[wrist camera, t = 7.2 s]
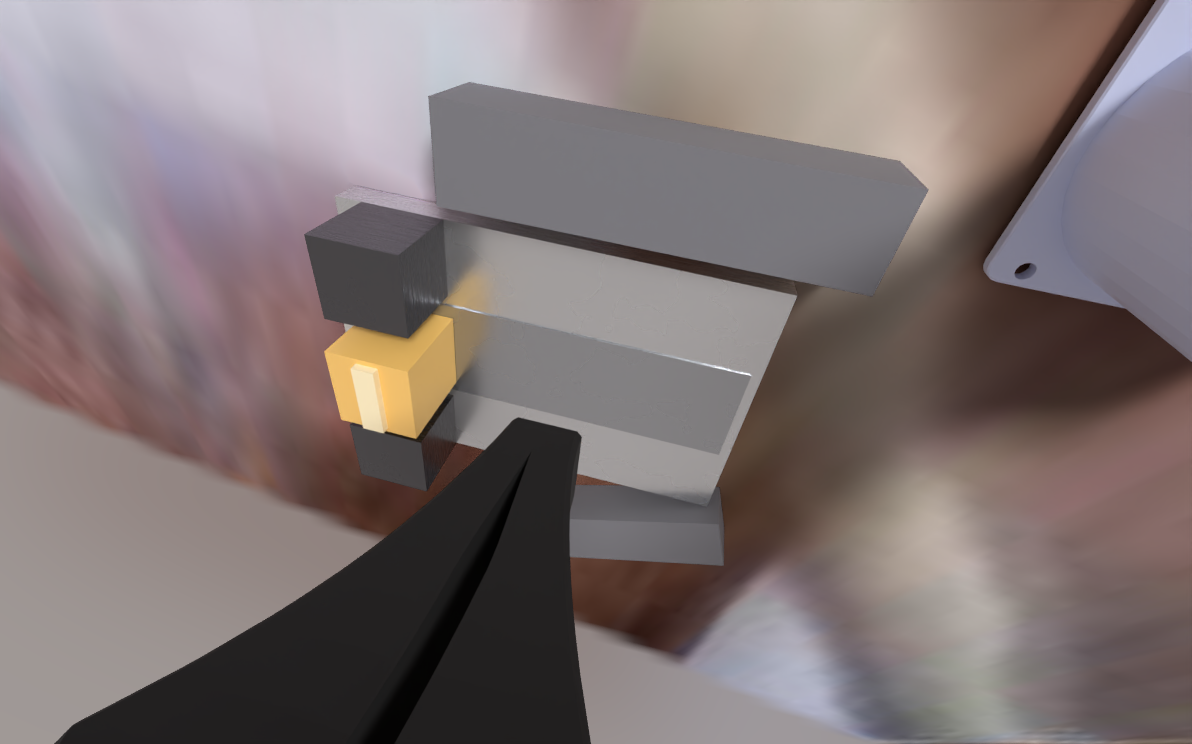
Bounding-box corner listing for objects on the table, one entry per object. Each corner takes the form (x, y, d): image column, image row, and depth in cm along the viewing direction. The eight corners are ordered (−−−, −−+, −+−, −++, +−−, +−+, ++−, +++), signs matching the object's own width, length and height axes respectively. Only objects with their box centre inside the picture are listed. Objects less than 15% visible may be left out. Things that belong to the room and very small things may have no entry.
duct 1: (896, 158, 15) (928, 190, 12) (852, 253, 17) (872, 296, 14) (472, 80, 16) (428, 96, 14) (475, 177, 18) (436, 206, 15)
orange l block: (452, 318, 20) (403, 377, 17) (456, 381, 22) (412, 444, 19) (380, 301, 20) (318, 356, 17) (390, 365, 22) (336, 424, 19)
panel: (793, 279, 17) (808, 347, 14) (707, 486, 24) (703, 565, 21) (354, 185, 19) (273, 227, 15) (391, 406, 25) (340, 468, 22)
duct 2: (719, 481, 24) (718, 524, 22) (724, 522, 26) (723, 565, 24) (477, 479, 28) (458, 515, 26) (495, 514, 30) (478, 551, 28)
